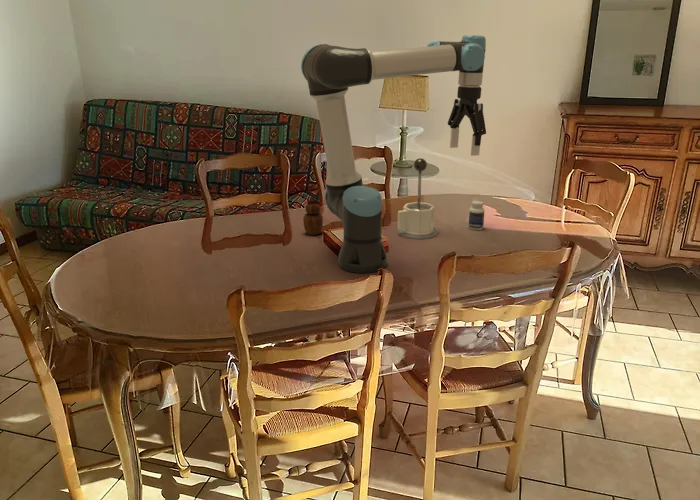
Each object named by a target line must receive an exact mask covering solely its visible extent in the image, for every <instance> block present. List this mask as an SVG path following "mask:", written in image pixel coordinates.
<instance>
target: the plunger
mask: <svg viewBox="0 0 700 500" xmlns="http://www.w3.org/2000/svg"><path fill="white" fill-rule="evenodd" d="M427 166H428V163H427V161H426V160H425V159H424V158H420V157H419V158H417V159H415V161H414V162H413V168H414V169H415V171H417V172H418V178H417V179H418V180H417V202H418V203H417V205H414V206H410V207H409V209H410V210H419V211H421V210H428V209H429V208H428V207H427V206H422V205H420V202H421V197H422V196H421V195H422V172H424V171H425V170H426V168H427Z"/></svg>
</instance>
